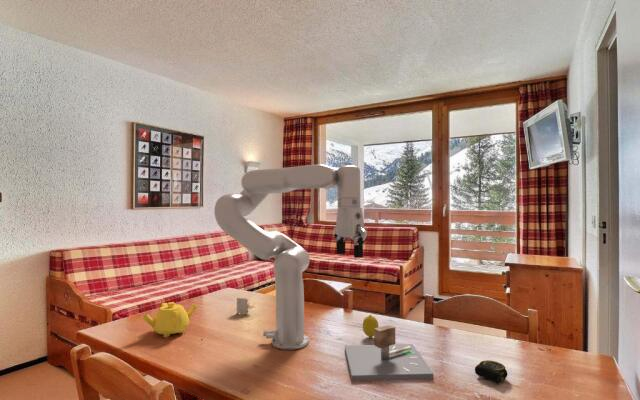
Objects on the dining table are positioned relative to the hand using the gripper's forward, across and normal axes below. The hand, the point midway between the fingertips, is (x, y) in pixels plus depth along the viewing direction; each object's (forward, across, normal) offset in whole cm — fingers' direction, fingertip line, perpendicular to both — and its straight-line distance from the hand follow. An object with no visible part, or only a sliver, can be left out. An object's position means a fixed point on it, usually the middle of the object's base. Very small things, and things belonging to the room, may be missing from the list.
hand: (349, 255), depth 118 cm
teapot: (+31, +47, +48) cm, 74 cm away
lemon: (+31, +3, -11) cm, 33 cm away
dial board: (+30, -15, -2) cm, 34 cm away
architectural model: (+31, +54, +18) cm, 65 cm away
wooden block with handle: (+28, -15, -5) cm, 33 cm away
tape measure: (+31, -38, -20) cm, 52 cm away
